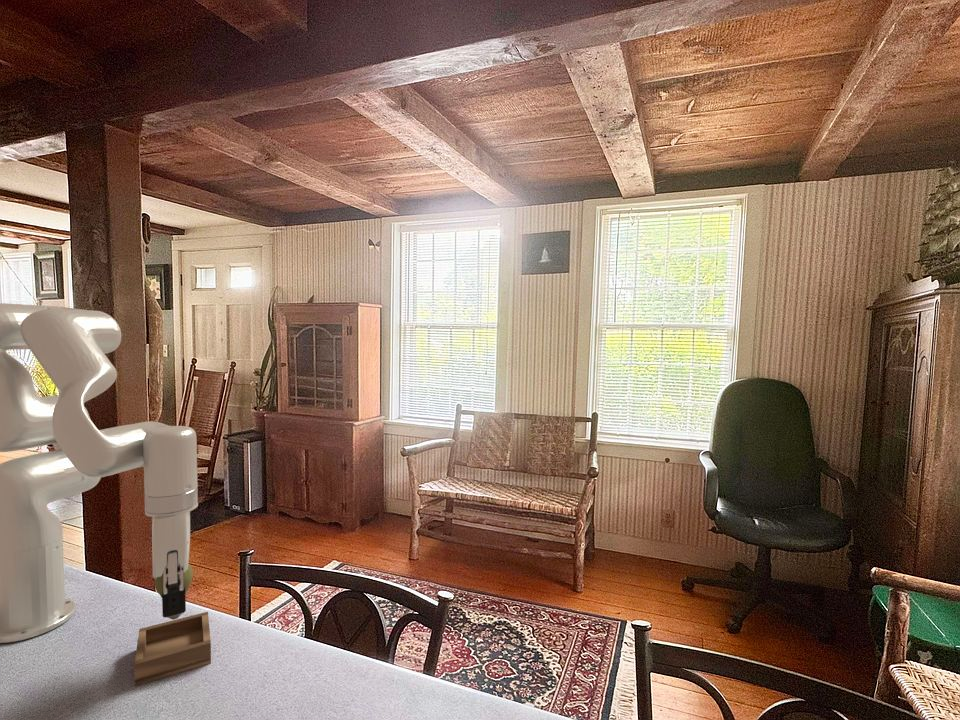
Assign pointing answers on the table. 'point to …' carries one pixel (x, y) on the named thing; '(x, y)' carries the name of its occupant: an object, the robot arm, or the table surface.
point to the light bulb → (186, 583)
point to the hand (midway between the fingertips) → (174, 604)
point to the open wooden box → (172, 648)
